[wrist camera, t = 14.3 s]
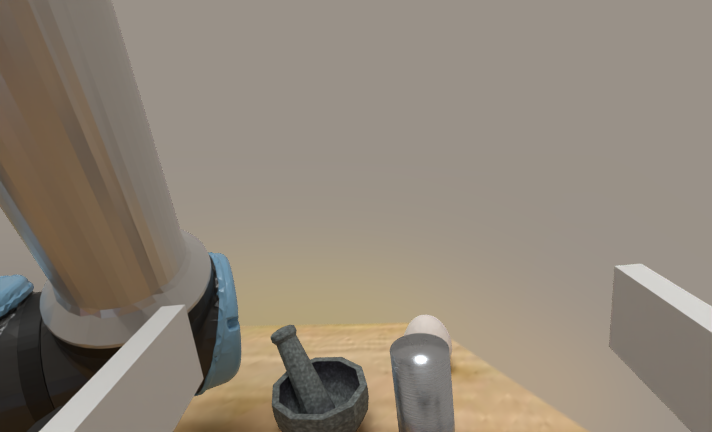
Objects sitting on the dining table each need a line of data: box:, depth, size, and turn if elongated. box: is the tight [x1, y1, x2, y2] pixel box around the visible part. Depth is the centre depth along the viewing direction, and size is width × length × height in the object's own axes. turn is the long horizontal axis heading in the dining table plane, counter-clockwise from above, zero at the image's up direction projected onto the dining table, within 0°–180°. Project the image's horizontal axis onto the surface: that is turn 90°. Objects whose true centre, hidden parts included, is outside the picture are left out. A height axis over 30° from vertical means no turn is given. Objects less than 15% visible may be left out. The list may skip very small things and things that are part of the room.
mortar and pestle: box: [271, 325, 369, 432], centre depth 42 cm, size 11×9×12 cm
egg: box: [404, 315, 452, 357], centre depth 52 cm, size 6×6×8 cm
